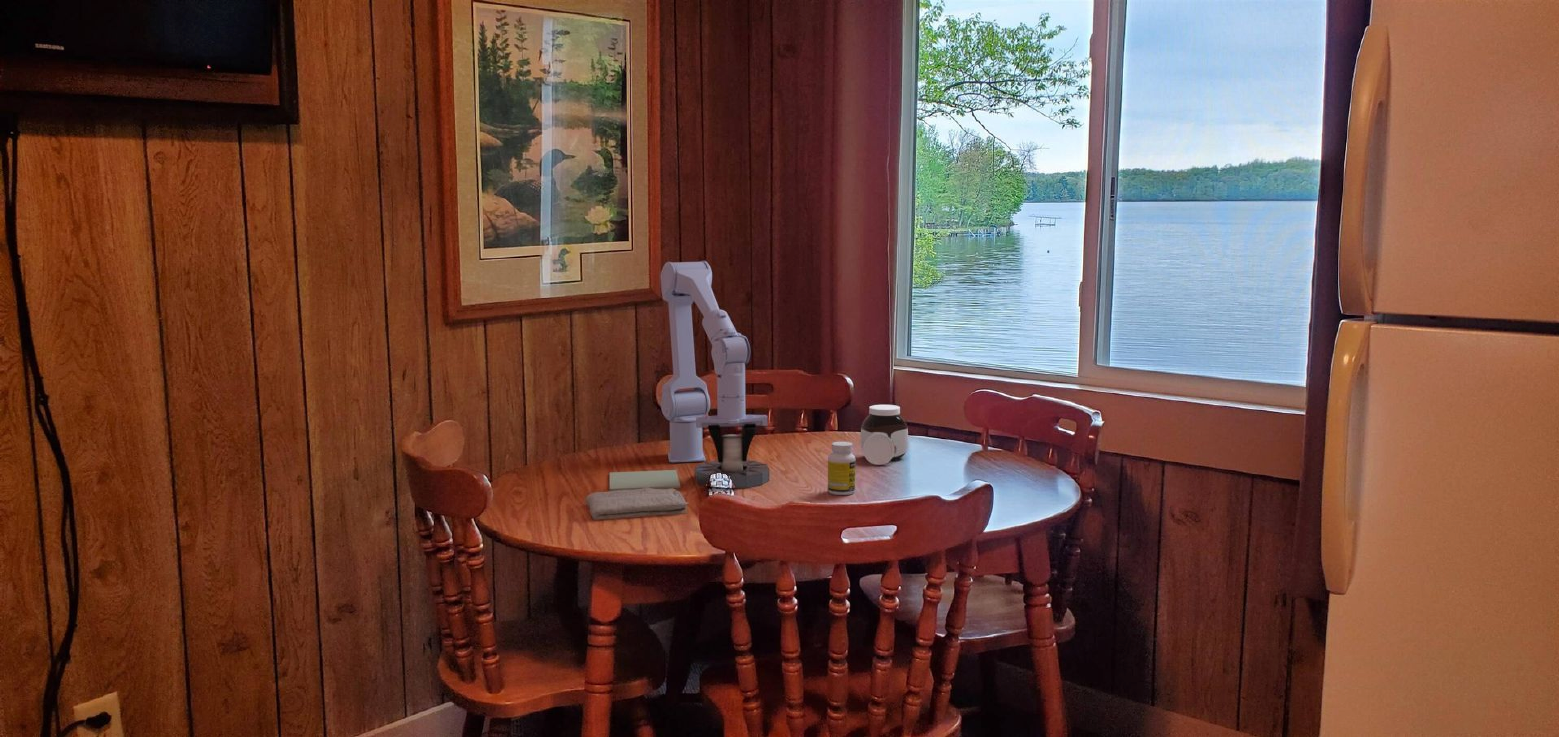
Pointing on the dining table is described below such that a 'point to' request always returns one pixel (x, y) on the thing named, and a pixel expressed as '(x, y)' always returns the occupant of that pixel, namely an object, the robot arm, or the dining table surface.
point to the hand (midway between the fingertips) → (732, 460)
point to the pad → (644, 480)
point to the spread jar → (884, 434)
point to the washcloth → (635, 503)
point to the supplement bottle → (841, 469)
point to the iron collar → (735, 473)
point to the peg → (732, 452)
